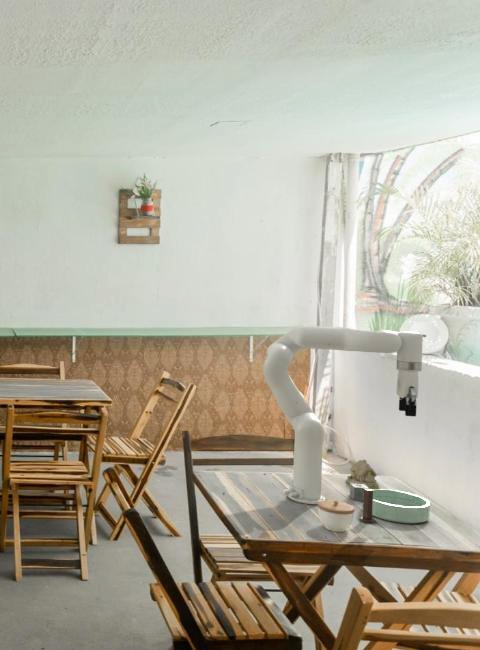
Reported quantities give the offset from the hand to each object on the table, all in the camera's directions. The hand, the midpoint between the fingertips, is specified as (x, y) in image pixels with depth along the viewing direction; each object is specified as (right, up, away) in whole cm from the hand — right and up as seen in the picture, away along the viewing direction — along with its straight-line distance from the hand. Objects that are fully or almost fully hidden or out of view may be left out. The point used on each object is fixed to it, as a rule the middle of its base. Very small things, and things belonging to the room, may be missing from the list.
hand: (407, 413), depth 241 cm
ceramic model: (+2, -34, +31) cm, 46 cm away
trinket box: (-35, -36, -17) cm, 53 cm away
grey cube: (-10, -35, +13) cm, 38 cm away
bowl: (-7, -35, -4) cm, 36 cm away
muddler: (-20, -36, -10) cm, 42 cm away
